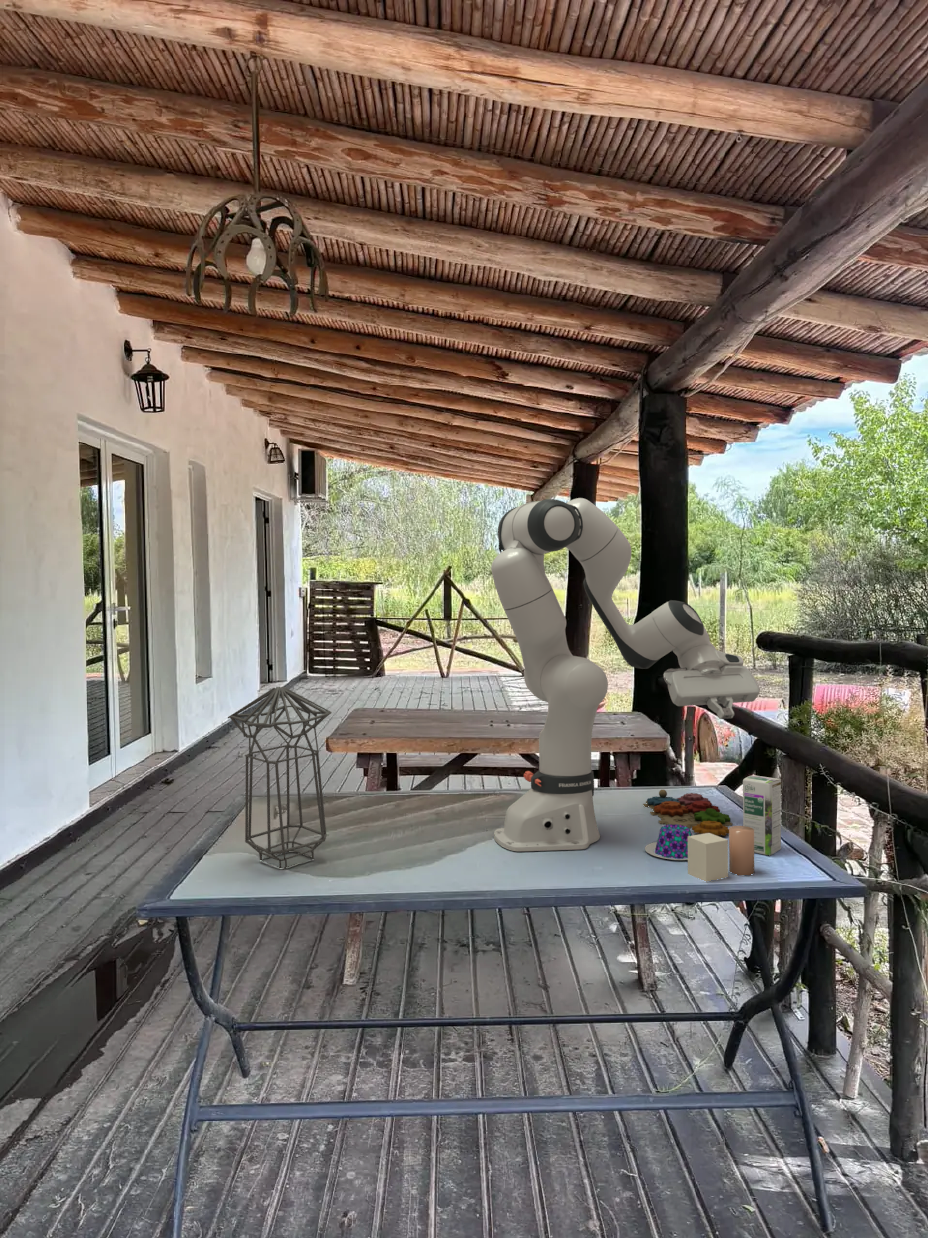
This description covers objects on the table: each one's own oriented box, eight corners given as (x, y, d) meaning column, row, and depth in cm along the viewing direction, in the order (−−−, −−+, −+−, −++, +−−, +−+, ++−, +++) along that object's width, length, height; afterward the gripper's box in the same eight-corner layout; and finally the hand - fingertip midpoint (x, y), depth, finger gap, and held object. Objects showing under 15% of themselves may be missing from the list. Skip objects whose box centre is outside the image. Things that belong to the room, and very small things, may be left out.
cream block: (706, 882, 148) (705, 844, 148) (688, 874, 153) (687, 836, 152) (728, 878, 150) (727, 840, 150) (709, 869, 155) (709, 832, 154)
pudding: (649, 863, 160) (648, 836, 159) (641, 844, 172) (640, 819, 171) (712, 864, 159) (712, 837, 158) (700, 844, 171) (699, 819, 170)
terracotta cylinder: (737, 877, 150) (737, 833, 150) (724, 869, 155) (724, 827, 154) (759, 874, 151) (759, 831, 151) (745, 867, 156) (745, 825, 155)
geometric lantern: (341, 860, 164) (335, 685, 162) (272, 883, 153) (264, 695, 151) (297, 843, 175) (291, 679, 173) (229, 863, 164) (222, 688, 162)
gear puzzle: (750, 840, 173) (750, 821, 173) (674, 842, 173) (674, 823, 173) (704, 802, 204) (704, 786, 204) (639, 804, 204) (639, 788, 204)
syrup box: (741, 850, 165) (741, 778, 165) (754, 843, 170) (754, 773, 169) (770, 856, 161) (769, 783, 161) (782, 849, 166) (781, 777, 165)
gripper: (665, 660, 181) (688, 711, 172) (748, 656, 186) (774, 705, 177) (655, 678, 185) (678, 728, 176) (737, 674, 190) (762, 722, 181)
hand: (727, 717), depth 177 cm, fingers closed
